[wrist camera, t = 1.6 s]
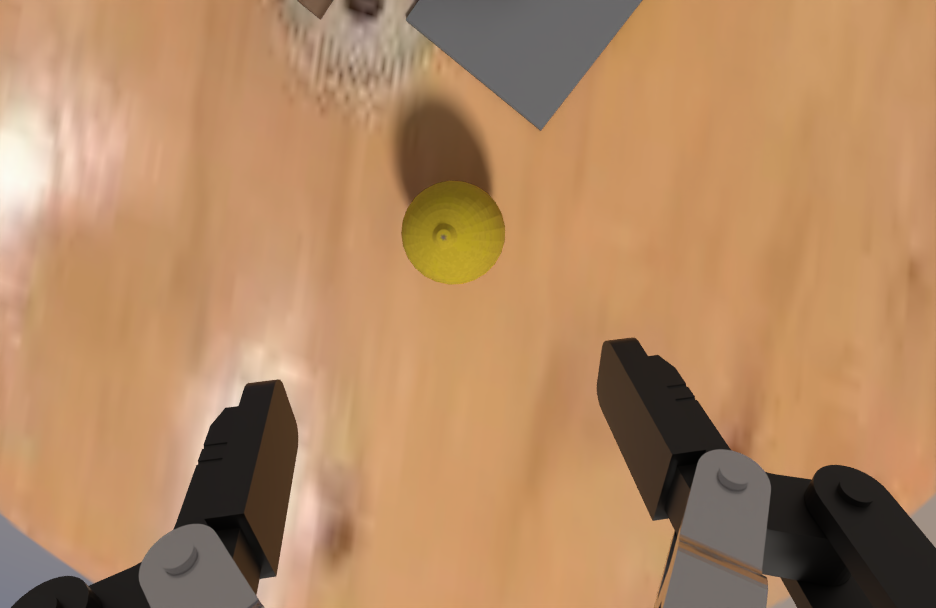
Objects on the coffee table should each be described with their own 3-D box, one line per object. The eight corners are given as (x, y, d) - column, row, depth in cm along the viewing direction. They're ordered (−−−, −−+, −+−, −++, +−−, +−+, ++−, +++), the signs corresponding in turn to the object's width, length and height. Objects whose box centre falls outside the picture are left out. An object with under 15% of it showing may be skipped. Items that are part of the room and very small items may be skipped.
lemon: (400, 239, 32) (363, 249, 25) (452, 165, 31) (430, 151, 24) (471, 292, 33) (456, 318, 25) (524, 221, 32) (527, 224, 24)
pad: (407, 21, 30) (405, 19, 30) (516, -138, 28) (516, -143, 28) (540, 130, 31) (541, 129, 30) (657, -20, 29) (659, -23, 28)
